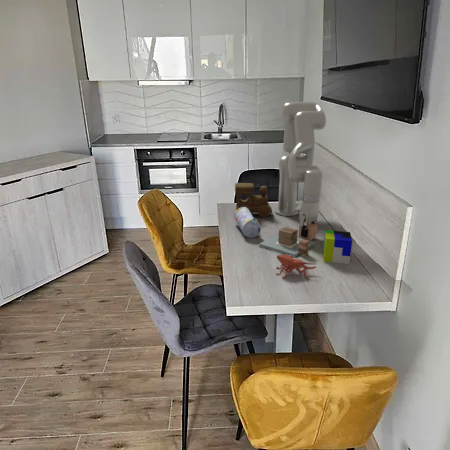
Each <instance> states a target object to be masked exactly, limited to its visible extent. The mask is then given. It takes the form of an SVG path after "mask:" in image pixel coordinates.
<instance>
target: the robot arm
mask: <svg viewBox="0 0 450 450" xmlns="http://www.w3.org/2000/svg"><path fill="white" fill-rule="evenodd" d="M281 112H282V120H283V123H284V124H283V125H284V133H283V142H282V143H283V146H282V147H283V152H285V153H286V154H288V155H283V156H281V157H280V159H279V160H278V169H279V184H278V185H279V186H278V187H279V188H278V203H277V204H278V205H277V208H276V209H275V210H274V212H275V214H276V215H278V216H285V217H294V216H296V215H299V218H298V219H299V220H298V221H299V225H301V236H302V237H305V238H307V237H308V225H309V223H312V224H316V225H317V221H318V218H319V213H320V210H319V209H320V201H321V190H322V182H323V180H322V179H323V172H322V171H321V169H320V168H319V166H317V165H313V164H314V163H313V162H314V154H315V144H316V140H315V130H319V131H320V130H323V129H324V128H325V127H326V126H327V125H326V124H327V120H326V119H327V118H326V114H325V112H324V110H323V108H322V107H321V106H320V104H319V103H318V102H314V101H313V102H311V101H308V102H307V101H290V102H286V103H285V104H284V105H283V107H282V111H281ZM299 154H303V155H299ZM298 183H303V191H302V202H301V205H300V203H298V202H297V196H298V195H297V193H298ZM299 205H300V211H299V210H298V209H297V208H298V207H299ZM306 222H307V223H306ZM304 223H305V224H306V226H305V225H304Z"/></svg>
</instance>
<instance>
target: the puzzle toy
mask: <svg viewBox="0 0 450 450" xmlns="http://www.w3.org/2000/svg"><path fill="white" fill-rule="evenodd" d="M352 246H353V238H352V235H351V231H339V230H328V229H326V230H325V232H324V241H323V249H322V255H323V262H326V263H333V264H334V263H336V264H345V265H346V264H347V265H349V264H350V262H351V261H350V260H351V254H352Z"/></svg>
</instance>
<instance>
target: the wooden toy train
mask: <svg viewBox="0 0 450 450" xmlns="http://www.w3.org/2000/svg"><path fill="white" fill-rule="evenodd" d="M254 189H255V185H254V183H253V182H252V183H251V182H236V183H235V184H234V192H235V193H236V206H235V208H236V209H235V211H236V210H237V209H239V208H241V207H246V208H248V209H249V211H250V213H251V214H257V215H258V216H259V217H260V218H263V217H265V218H268V217H269V216H271V214H273V209H272V207H271V205H270V204H269V197H268V196H267V193H268V191H269V188H268V187H267V186H266V185H262V186H260V188H259V189H258V190H259V193H260V195H258V194H257V195H256V194H253V193H254V191H255V190H254ZM242 196H246V197H247V198H246V199H242V198H241V197H242Z"/></svg>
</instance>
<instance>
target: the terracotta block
mask: <svg viewBox="0 0 450 450" xmlns="http://www.w3.org/2000/svg"><path fill="white" fill-rule="evenodd" d="M305 222H306V223H307V221H305ZM304 225H305V226H306V224H305V223H304ZM298 227H299V228H298V236H297V237H299V238H302V239H306V240H310V241H312V240H314V239H315V238H317V234H318V233H317V232H318V224H317V223H316V224H312V223H309V225H308V237H307V238H305V237H302V236H301V225H300V224H299V226H298Z"/></svg>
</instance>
